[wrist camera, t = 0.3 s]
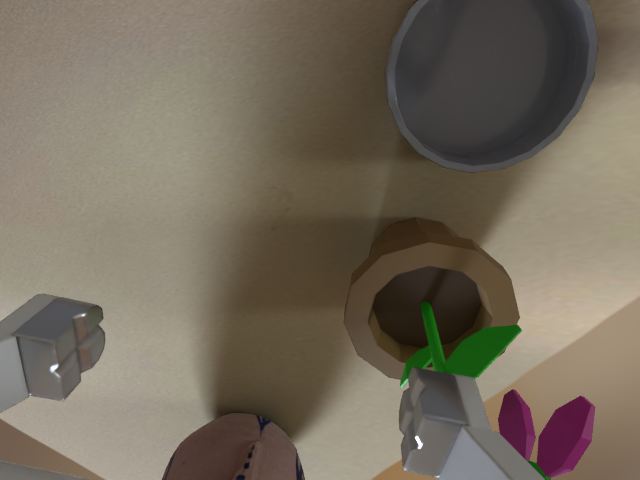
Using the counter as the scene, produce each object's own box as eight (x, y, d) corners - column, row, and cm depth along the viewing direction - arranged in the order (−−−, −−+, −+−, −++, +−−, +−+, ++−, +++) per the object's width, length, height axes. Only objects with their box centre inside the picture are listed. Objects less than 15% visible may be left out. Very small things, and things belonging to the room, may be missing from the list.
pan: (410, -49, 32) (416, -64, 28) (603, -15, 32) (637, -24, 28) (368, 142, 39) (368, 153, 35) (528, 172, 38) (547, 187, 34)
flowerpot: (440, 336, 47) (538, 723, 20) (327, 287, 46) (269, 627, 19) (515, 234, 41) (801, 591, 14) (387, 174, 40) (429, 438, 13)
